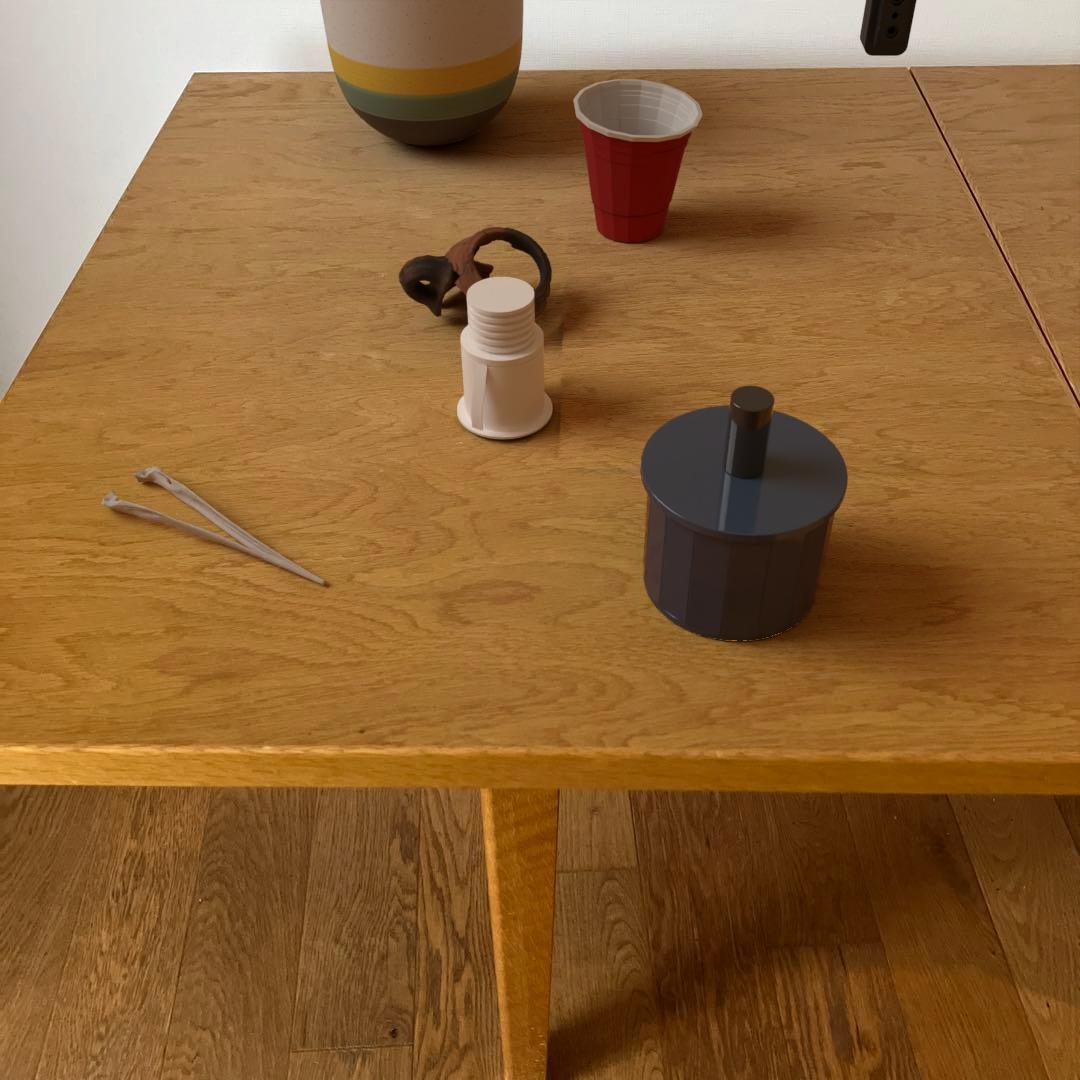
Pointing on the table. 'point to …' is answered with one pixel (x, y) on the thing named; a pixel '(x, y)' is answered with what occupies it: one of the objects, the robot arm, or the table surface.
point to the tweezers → (208, 511)
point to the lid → (744, 471)
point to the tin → (731, 578)
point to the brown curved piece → (469, 269)
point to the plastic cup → (634, 152)
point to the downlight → (502, 362)
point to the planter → (425, 63)
